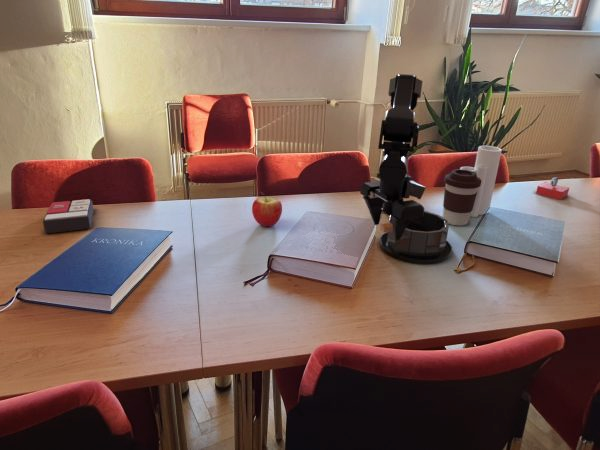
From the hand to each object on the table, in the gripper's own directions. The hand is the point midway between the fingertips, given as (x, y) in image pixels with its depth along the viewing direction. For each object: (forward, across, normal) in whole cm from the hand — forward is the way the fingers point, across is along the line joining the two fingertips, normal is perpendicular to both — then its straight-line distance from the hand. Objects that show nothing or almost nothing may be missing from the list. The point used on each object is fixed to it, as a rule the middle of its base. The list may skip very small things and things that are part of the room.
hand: (386, 231), depth 109 cm
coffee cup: (+6, +10, -31) cm, 34 cm away
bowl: (+5, 0, -8) cm, 9 cm away
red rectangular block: (+6, +17, -80) cm, 82 cm away
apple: (+6, +27, +22) cm, 35 cm away
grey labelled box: (+6, +48, +73) cm, 87 cm away
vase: (+6, +14, -41) cm, 44 cm away
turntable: (+6, 0, -9) cm, 11 cm away
